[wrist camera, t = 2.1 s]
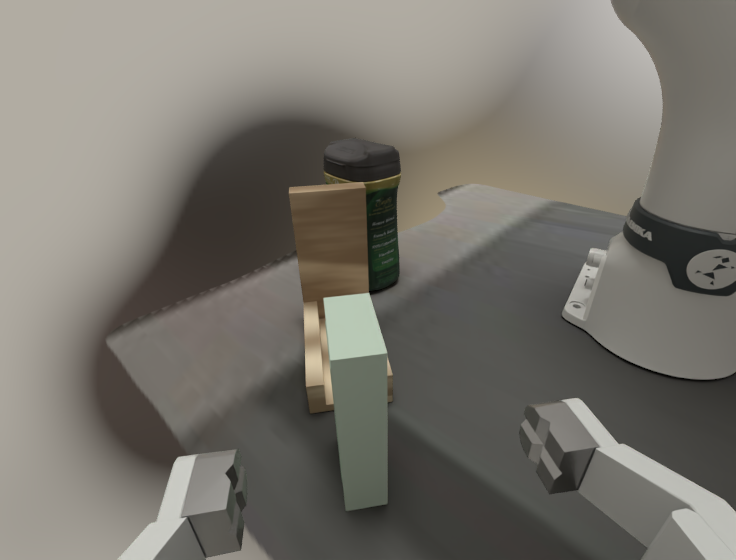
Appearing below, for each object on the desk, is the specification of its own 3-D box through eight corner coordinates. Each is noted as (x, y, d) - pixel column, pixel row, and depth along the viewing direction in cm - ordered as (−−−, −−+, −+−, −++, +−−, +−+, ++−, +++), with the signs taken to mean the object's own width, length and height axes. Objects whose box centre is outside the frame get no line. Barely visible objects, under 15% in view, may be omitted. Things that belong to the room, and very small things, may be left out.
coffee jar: (409, 280, 54) (413, 141, 45) (364, 300, 50) (358, 152, 40) (366, 256, 61) (362, 131, 51) (323, 272, 57) (310, 139, 47)
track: (306, 316, 47) (289, 187, 39) (367, 309, 48) (362, 182, 40) (310, 413, 34) (285, 252, 26) (392, 401, 35) (393, 242, 27)
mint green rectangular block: (337, 438, 32) (322, 297, 25) (374, 433, 33) (369, 292, 25) (344, 511, 27) (329, 360, 20) (388, 503, 27) (388, 353, 20)
